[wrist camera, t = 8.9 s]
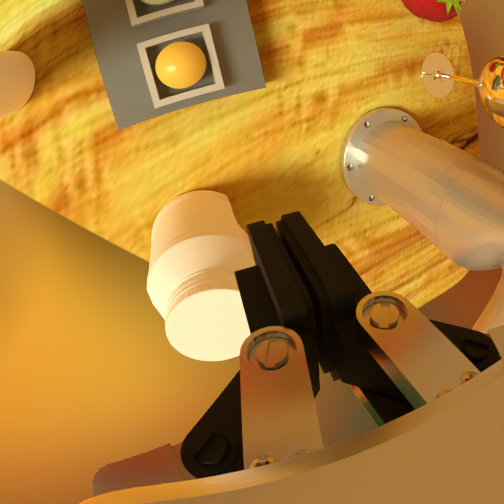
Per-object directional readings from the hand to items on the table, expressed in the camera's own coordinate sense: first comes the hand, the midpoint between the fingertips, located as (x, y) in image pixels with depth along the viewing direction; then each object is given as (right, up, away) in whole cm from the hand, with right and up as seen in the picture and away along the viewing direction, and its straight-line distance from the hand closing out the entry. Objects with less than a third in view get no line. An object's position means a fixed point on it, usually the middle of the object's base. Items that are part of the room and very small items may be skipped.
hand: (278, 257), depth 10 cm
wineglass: (+23, +23, +21) cm, 39 cm away
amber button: (-7, +16, +14) cm, 22 cm away
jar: (-7, +2, +27) cm, 28 cm away
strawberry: (+17, +30, +15) cm, 38 cm away
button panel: (-9, +24, +12) cm, 29 cm away
